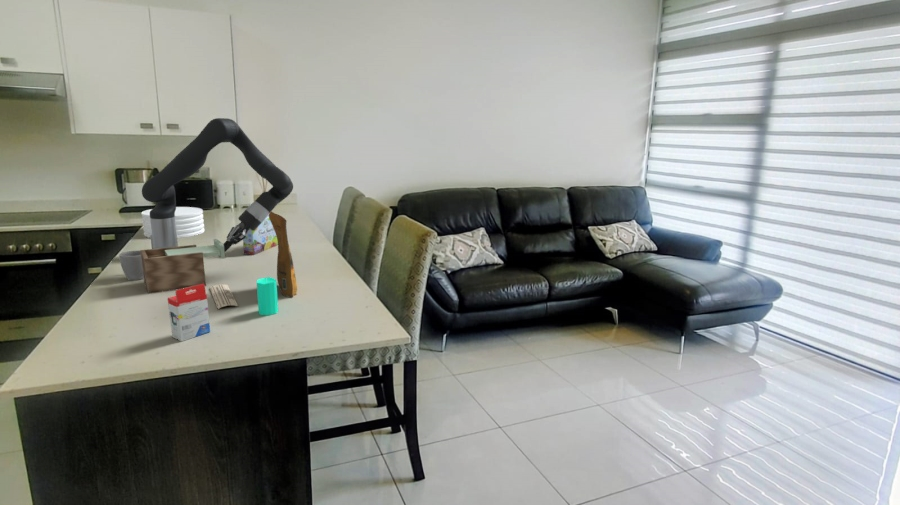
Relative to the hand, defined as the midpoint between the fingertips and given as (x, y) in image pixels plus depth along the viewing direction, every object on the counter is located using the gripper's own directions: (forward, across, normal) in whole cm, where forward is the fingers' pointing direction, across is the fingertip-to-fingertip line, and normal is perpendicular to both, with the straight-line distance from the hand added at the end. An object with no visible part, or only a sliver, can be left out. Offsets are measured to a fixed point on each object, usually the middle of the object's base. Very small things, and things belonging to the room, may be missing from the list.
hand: (222, 250), depth 189 cm
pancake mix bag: (-3, +27, +18) cm, 33 cm away
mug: (+27, -16, -12) cm, 34 cm away
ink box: (+22, +51, -6) cm, 56 cm away
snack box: (-9, -37, +25) cm, 45 cm away
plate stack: (+11, -93, +5) cm, 94 cm away
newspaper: (+12, +24, +5) cm, 27 cm away
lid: (+8, 0, -6) cm, 10 cm away
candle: (+5, +45, +10) cm, 46 cm away
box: (+20, 0, -4) cm, 20 cm away
